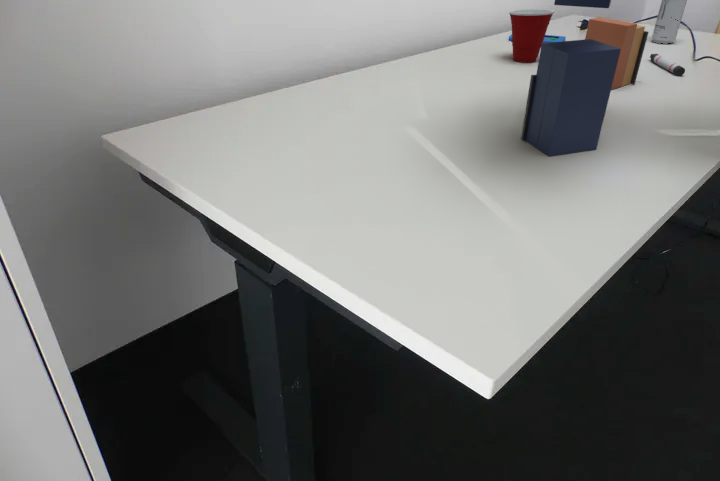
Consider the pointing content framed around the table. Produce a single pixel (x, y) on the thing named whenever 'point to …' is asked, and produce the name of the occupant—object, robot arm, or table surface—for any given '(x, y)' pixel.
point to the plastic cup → (528, 32)
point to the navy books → (569, 96)
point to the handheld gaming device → (548, 38)
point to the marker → (667, 64)
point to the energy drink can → (668, 21)
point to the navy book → (584, 3)
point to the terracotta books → (620, 45)
